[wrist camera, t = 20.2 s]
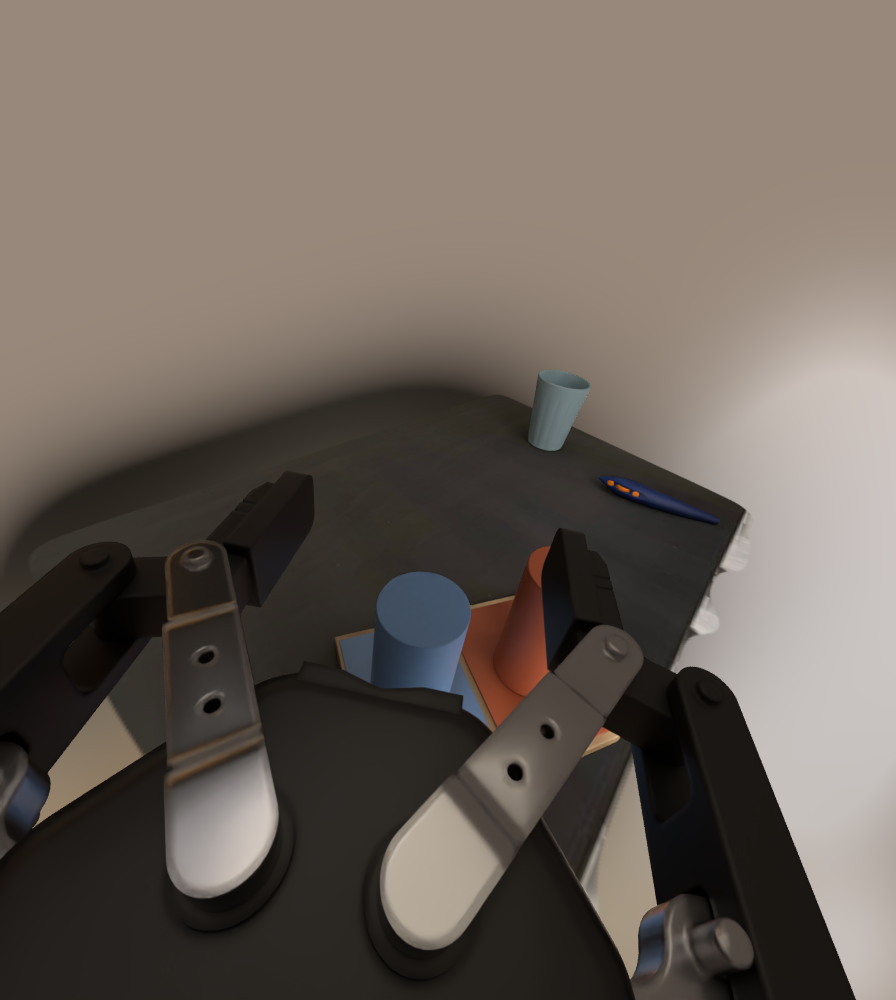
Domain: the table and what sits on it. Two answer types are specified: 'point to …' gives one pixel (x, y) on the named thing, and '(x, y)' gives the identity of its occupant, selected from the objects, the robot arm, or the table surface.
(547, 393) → the cup
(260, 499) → the robot arm
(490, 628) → the board
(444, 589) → the blue canister
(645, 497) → the tapered navy handle
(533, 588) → the rust canister
